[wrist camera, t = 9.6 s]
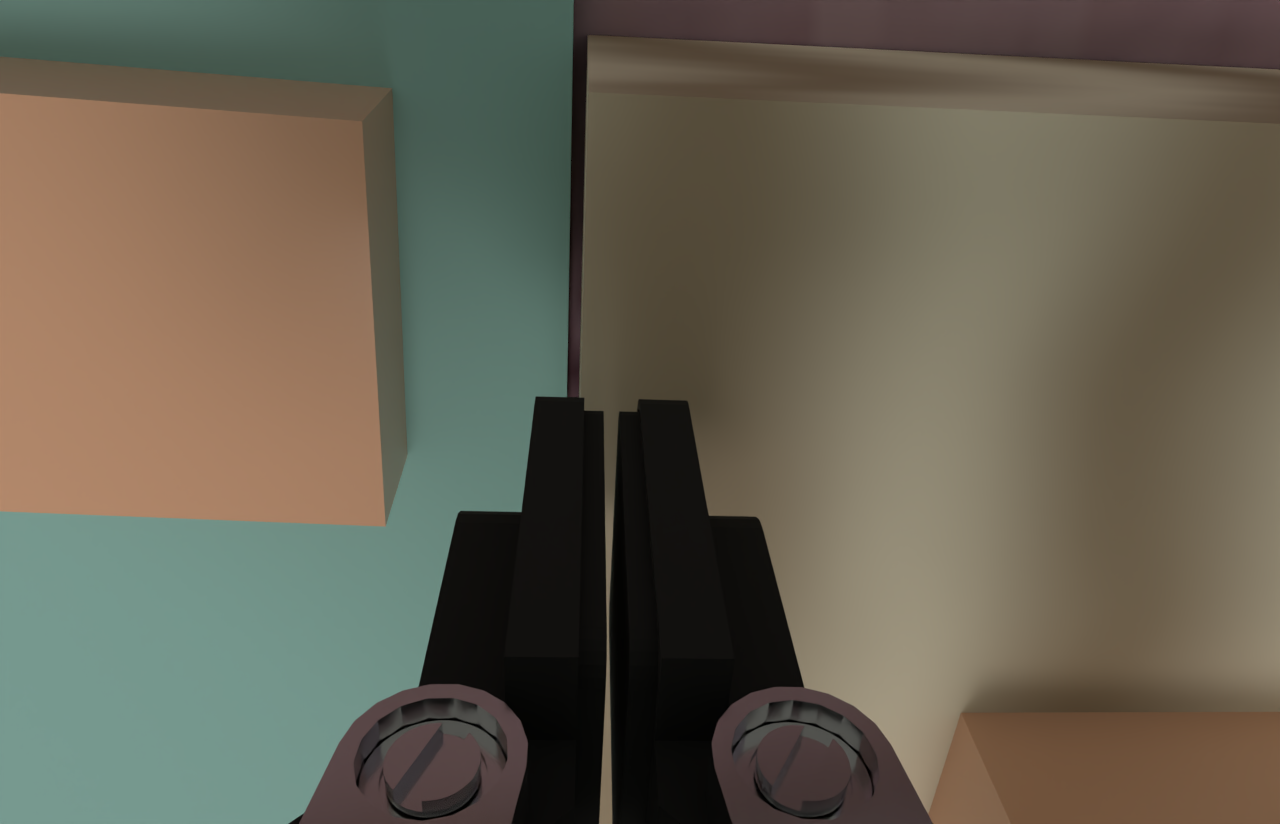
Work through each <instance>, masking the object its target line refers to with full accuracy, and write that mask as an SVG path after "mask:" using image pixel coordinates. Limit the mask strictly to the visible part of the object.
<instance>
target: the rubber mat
mask: <svg viewBox="0 0 1280 824" xmlns="http://www.w3.org/2000/svg"><path fill="white" fill-rule="evenodd" d="M573 19H574V0H0V57H13V58H25V59H37V60H50V61H62V62H74V63H87V64H99V65H111V66H124V67H136V68H149V69H161V70H173V71H186V72H198V73H210V74H223V75H235V76H247V77H260V78H272V79H284V80H297V81H309V82H321V83H334V84H346V85H358V86H371V87H383V88H392V94H393V118H394V142H395V166H396V190H397V214H398V238H399V262H400V286H401V310H402V334H403V358H404V382H405V406H406V430H407V454H408V455H407V459H406V462H405V465H404V468H403V472H402V475H401V478H400V481H399V485H398V488H397V491H396V494H395V498H394V501H393V504H392V507H391V511H390V514H389V517H388V521H387V524H386V527H384V526H359V525H333V524H308V523H283V522H257V521H232V520H207V519H181V518H156V517H131V516H105V515H80V514H55V513H29V512H4V511H0V824H289V823H290V822H292V821H293V820H295V819H296V818H297V817H299V816H300V815H302V814H303V813H304V812H305V810H306V808H307V806H308V804H309V802H310V800H311V798H312V796H313V794H314V792H315V790H316V788H317V786H318V784H319V782H320V780H321V778H322V776H323V774H324V772H325V770H326V768H327V766H328V764H329V762H330V760H331V758H332V756H333V754H334V752H335V750H336V748H337V746H338V744H339V742H340V741H341V739H342V738H343V736H344V735H345V734H346V732H347V731H348V729H349V728H350V726H351V725H352V724H353V722H354V721H355V720H356V719H357V718H359V717H360V716H361V715H362V714H363V713H365V712H366V711H367V710H368V709H370V708H371V707H372V706H373V705H375V704H376V703H377V702H380V701H382V700H384V699H386V698H388V697H390V696H392V695H394V694H396V693H398V692H401V691H403V690H407V689H411V688H416V687H418V686H419V682H420V678H421V673H422V669H423V664H424V660H425V655H426V651H427V646H428V642H429V637H430V633H431V628H432V624H433V619H434V615H435V611H436V606H437V602H438V597H439V593H440V588H441V584H442V579H443V575H444V570H445V566H446V561H447V557H448V552H449V548H450V544H451V539H452V535H453V530H454V526H455V522H456V518H457V515H458V513H459V512H460V511H498V512H521V511H522V503H523V495H524V487H525V478H526V470H527V462H528V453H529V445H530V437H531V429H532V420H533V412H534V404H535V397H536V396H543V397H567V371H568V313H569V254H570V195H571V137H572V78H573Z"/></svg>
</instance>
